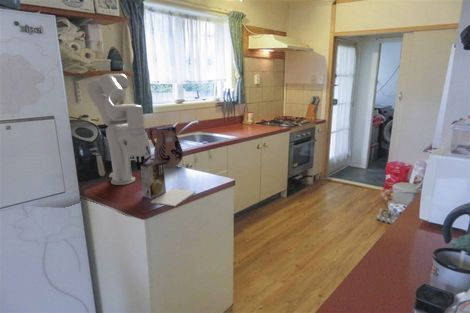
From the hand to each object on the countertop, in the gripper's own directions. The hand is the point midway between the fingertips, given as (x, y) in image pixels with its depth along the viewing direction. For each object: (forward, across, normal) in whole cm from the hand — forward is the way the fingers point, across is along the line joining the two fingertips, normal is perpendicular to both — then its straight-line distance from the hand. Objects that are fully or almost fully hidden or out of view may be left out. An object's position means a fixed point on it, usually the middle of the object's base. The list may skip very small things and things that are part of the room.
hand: (140, 169), depth 156 cm
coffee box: (+13, +6, 0) cm, 14 cm away
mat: (+13, +18, 0) cm, 22 cm away
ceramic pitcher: (+12, -18, +45) cm, 50 cm away
